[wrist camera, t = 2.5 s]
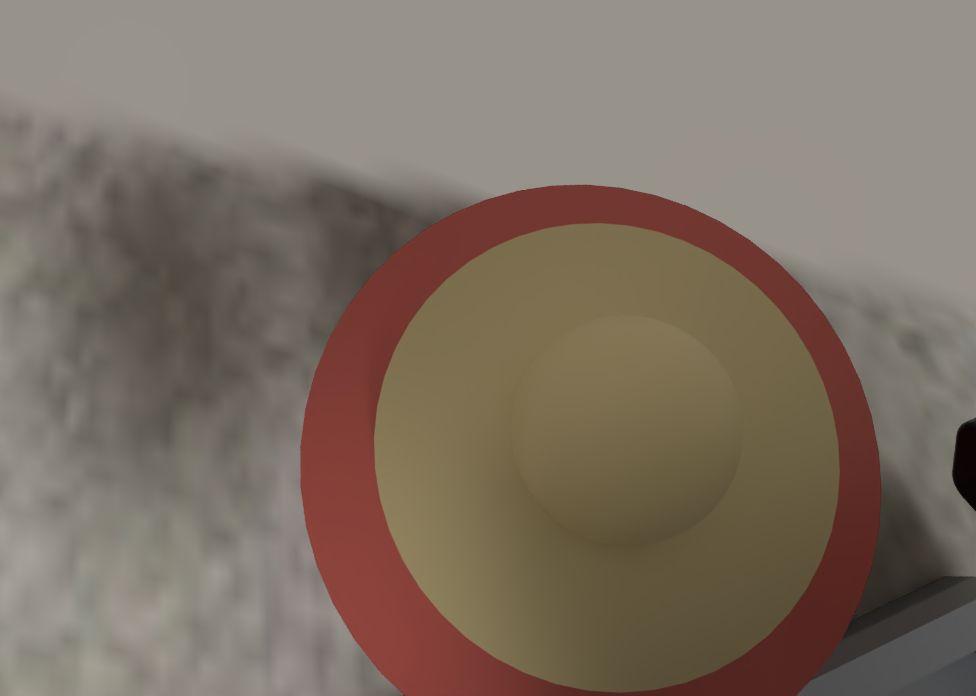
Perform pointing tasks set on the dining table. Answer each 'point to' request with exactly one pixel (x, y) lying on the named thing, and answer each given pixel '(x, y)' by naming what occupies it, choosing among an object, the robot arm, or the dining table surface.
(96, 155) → the dining table surface
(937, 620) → the tray
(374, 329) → the pepper mill
